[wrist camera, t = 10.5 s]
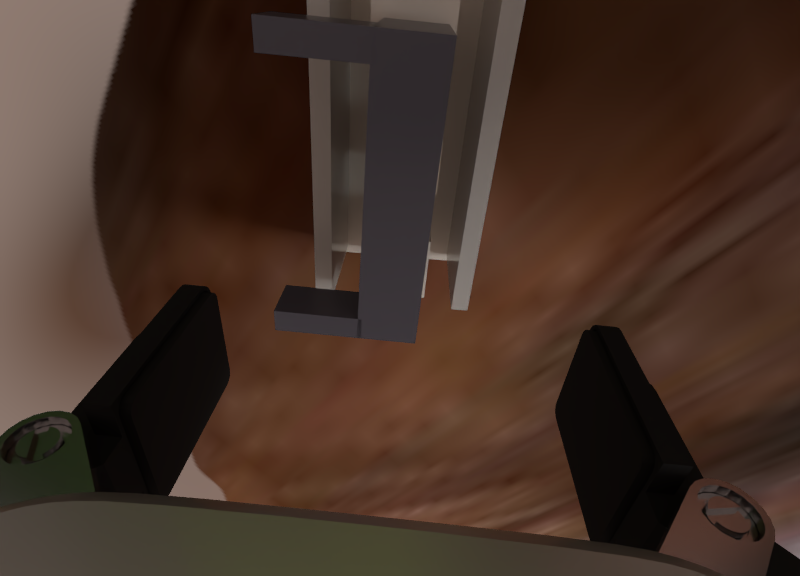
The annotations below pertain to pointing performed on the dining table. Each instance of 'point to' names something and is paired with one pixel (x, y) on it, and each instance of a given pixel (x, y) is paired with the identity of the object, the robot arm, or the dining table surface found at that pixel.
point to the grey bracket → (377, 165)
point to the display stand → (462, 141)
